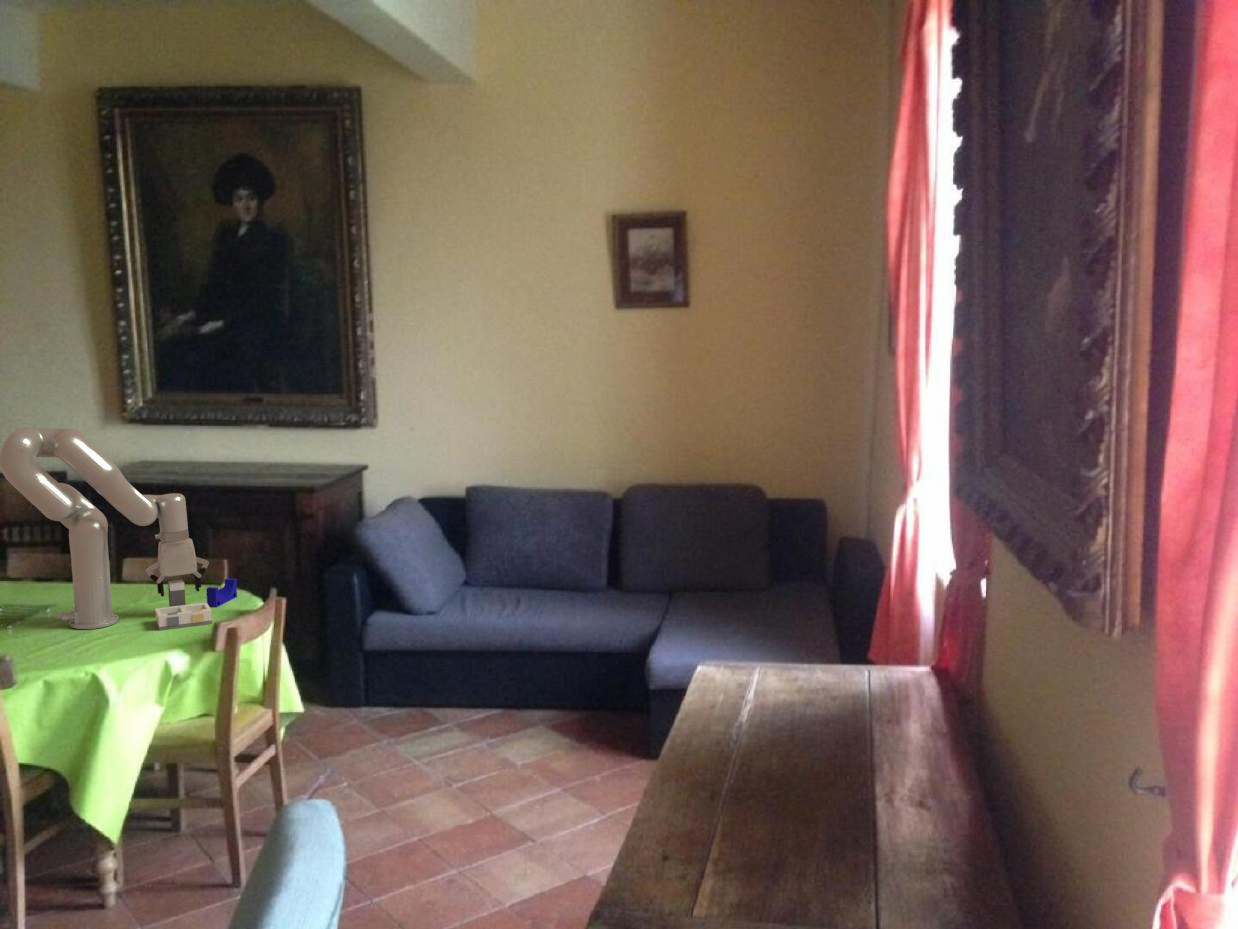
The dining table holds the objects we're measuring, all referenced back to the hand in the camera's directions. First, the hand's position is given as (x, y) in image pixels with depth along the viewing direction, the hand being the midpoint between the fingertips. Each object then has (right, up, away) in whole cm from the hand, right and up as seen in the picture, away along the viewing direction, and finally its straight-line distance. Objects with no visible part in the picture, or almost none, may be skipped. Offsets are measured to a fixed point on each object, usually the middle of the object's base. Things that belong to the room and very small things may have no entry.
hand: (180, 592), depth 312 cm
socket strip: (+4, -8, -7) cm, 11 cm away
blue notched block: (+6, -5, +15) cm, 17 cm away
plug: (-1, -7, +1) cm, 7 cm away
